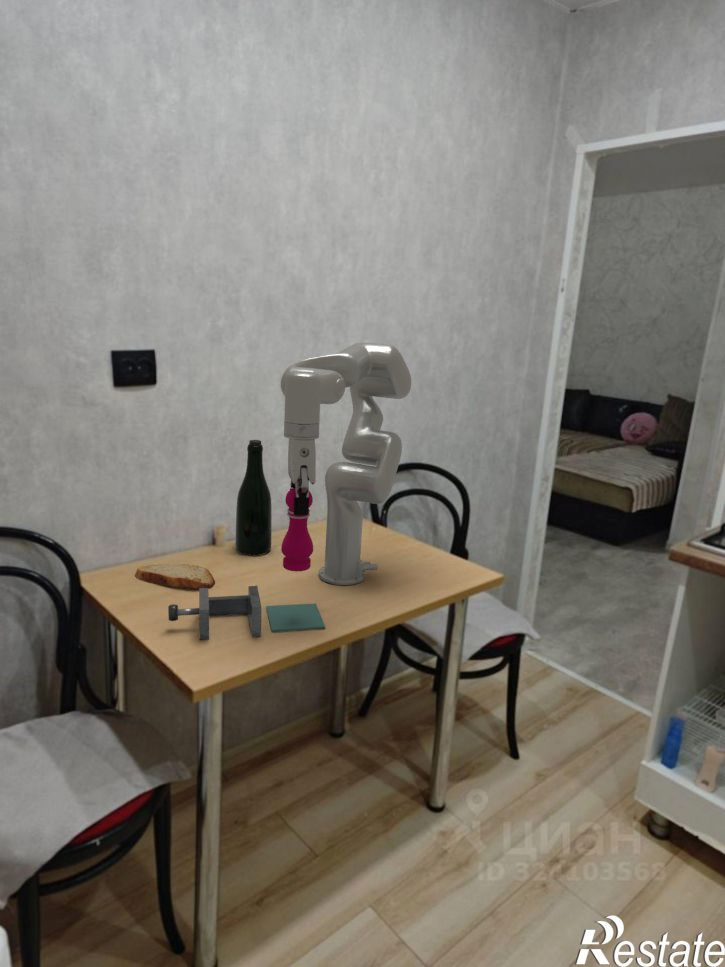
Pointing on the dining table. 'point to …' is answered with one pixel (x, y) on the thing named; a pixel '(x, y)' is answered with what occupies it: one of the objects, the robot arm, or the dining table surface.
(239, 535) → the dark green wine bottle
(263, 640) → the dining table surface
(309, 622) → the mat
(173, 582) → the bread slice
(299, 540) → the pepper mill
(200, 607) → the grey c-clamp
